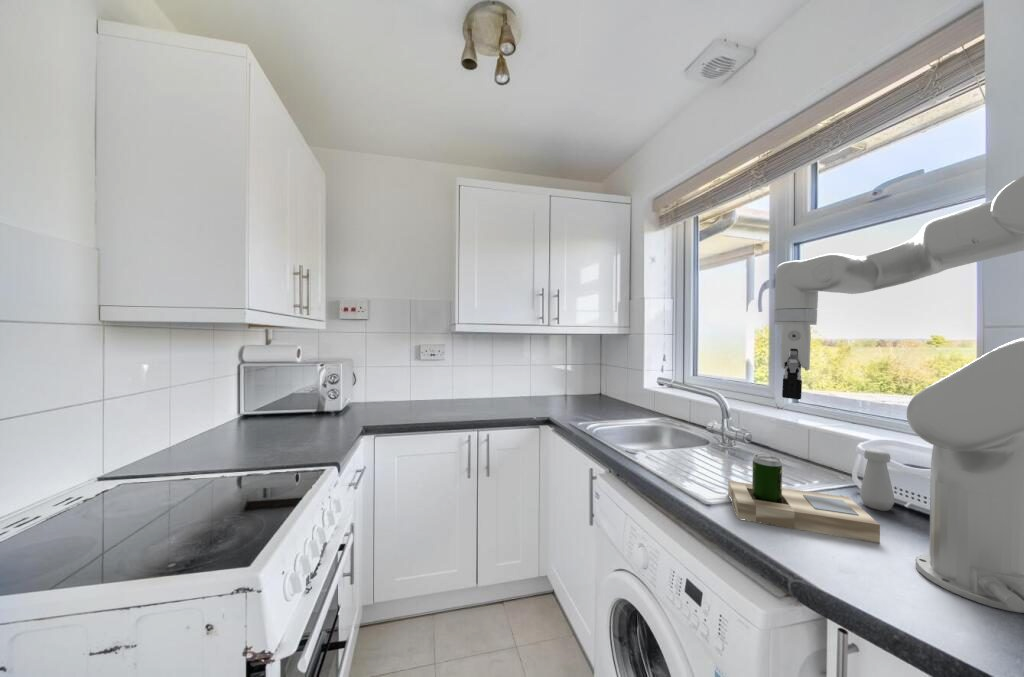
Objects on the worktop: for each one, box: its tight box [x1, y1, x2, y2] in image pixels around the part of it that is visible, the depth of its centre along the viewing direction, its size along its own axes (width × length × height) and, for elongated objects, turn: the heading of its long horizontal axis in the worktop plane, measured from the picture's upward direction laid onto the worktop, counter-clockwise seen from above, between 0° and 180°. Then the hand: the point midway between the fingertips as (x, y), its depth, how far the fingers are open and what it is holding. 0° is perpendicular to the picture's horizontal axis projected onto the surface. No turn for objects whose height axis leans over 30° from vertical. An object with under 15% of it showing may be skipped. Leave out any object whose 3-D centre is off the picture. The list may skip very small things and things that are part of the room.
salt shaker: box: [859, 448, 896, 512], centre depth 84 cm, size 6×6×13 cm
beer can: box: [751, 453, 783, 504], centre depth 82 cm, size 5×5×12 cm
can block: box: [727, 480, 881, 544], centre depth 80 cm, size 13×23×4 cm, turn 67°
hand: (791, 395), depth 82 cm, fingers open, 9 cm apart
